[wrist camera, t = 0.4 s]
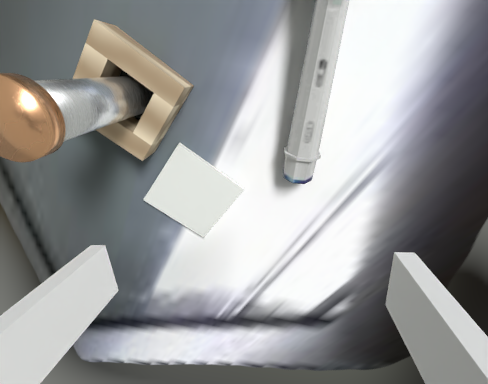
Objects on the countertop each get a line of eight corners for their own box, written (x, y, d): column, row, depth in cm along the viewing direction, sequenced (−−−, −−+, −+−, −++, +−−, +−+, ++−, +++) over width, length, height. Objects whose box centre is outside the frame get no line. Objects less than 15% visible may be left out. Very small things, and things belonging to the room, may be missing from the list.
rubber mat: (180, 142, 34) (178, 143, 33) (244, 187, 36) (244, 189, 36) (145, 198, 38) (143, 200, 38) (204, 235, 41) (203, 237, 40)
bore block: (115, 25, 28) (94, 19, 25) (193, 85, 31) (184, 87, 27) (84, 103, 33) (62, 107, 29) (155, 151, 35) (142, 161, 31)
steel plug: (126, 61, 30) (-33, 52, 14) (165, 90, 31) (59, 112, 15) (110, 99, 32) (-46, 129, 16) (146, 125, 33) (36, 177, 17)
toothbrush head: (277, 182, 32) (325, -118, 17) (276, 159, 37) (311, -84, 23) (319, 186, 31) (401, -115, 17) (311, 162, 37) (369, -81, 23)
